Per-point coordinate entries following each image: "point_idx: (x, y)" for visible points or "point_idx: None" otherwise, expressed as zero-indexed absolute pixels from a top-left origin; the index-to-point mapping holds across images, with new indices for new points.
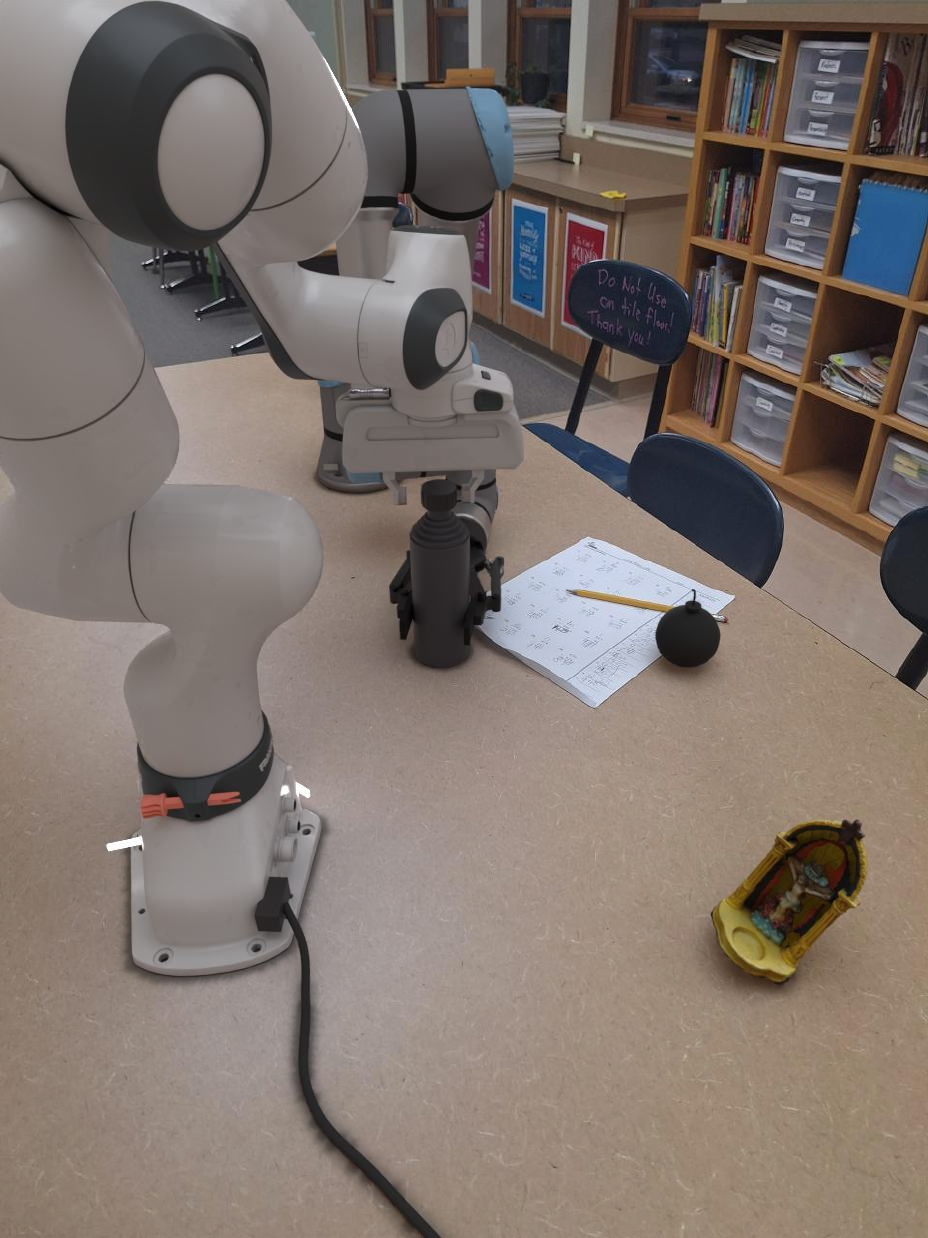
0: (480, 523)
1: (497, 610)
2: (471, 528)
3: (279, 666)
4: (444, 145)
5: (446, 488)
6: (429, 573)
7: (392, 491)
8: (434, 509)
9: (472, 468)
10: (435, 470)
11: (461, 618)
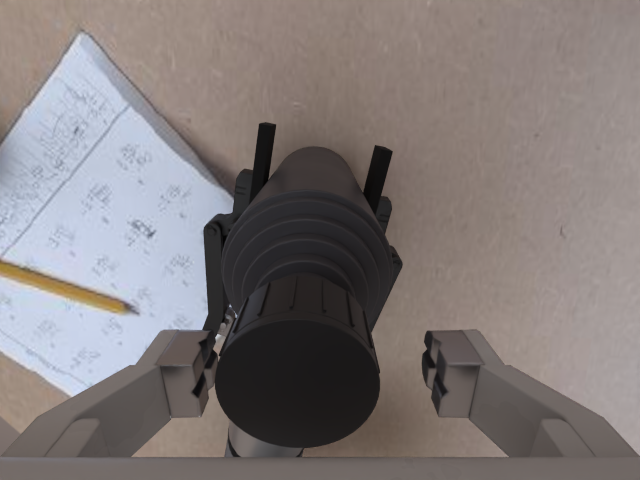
0: None
1: (217, 214)
2: None
3: (549, 164)
4: None
5: (260, 374)
6: (337, 180)
7: (513, 369)
8: (321, 281)
9: (35, 465)
10: (307, 458)
11: (276, 170)
